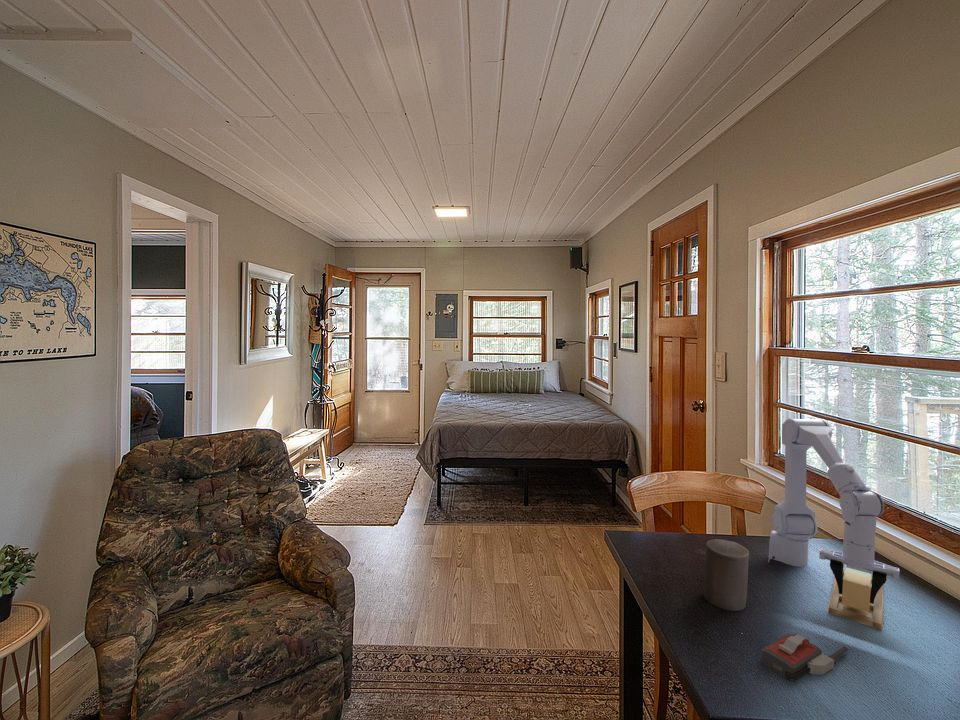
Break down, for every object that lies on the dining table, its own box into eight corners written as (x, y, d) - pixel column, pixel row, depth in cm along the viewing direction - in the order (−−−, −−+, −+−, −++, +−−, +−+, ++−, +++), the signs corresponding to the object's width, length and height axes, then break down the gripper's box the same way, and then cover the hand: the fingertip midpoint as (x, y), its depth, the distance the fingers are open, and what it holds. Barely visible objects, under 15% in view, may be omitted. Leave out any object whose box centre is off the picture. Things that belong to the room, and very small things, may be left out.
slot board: (826, 617, 109) (827, 607, 109) (835, 576, 128) (836, 567, 128) (882, 636, 102) (883, 624, 102) (883, 590, 121) (883, 580, 121)
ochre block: (842, 595, 113) (844, 571, 112) (869, 603, 109) (870, 578, 109) (841, 604, 109) (843, 579, 108) (869, 612, 106) (870, 587, 105)
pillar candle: (698, 600, 116) (700, 542, 115) (710, 584, 123) (712, 530, 122) (740, 616, 109) (744, 556, 108) (751, 599, 116) (754, 542, 115)
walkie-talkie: (801, 693, 86) (852, 657, 96) (803, 670, 86) (853, 637, 96) (754, 663, 94) (806, 633, 104) (755, 642, 94) (807, 614, 103)
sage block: (843, 597, 115) (844, 574, 115) (844, 589, 119) (845, 567, 118) (869, 605, 112) (870, 581, 111) (870, 597, 115) (871, 573, 115)
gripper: (819, 537, 110) (816, 592, 111) (901, 557, 100) (897, 617, 101) (822, 528, 115) (819, 580, 116) (900, 546, 106) (896, 603, 106)
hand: (855, 597), depth 109 cm, fingers closed on ochre block, 5 cm apart
